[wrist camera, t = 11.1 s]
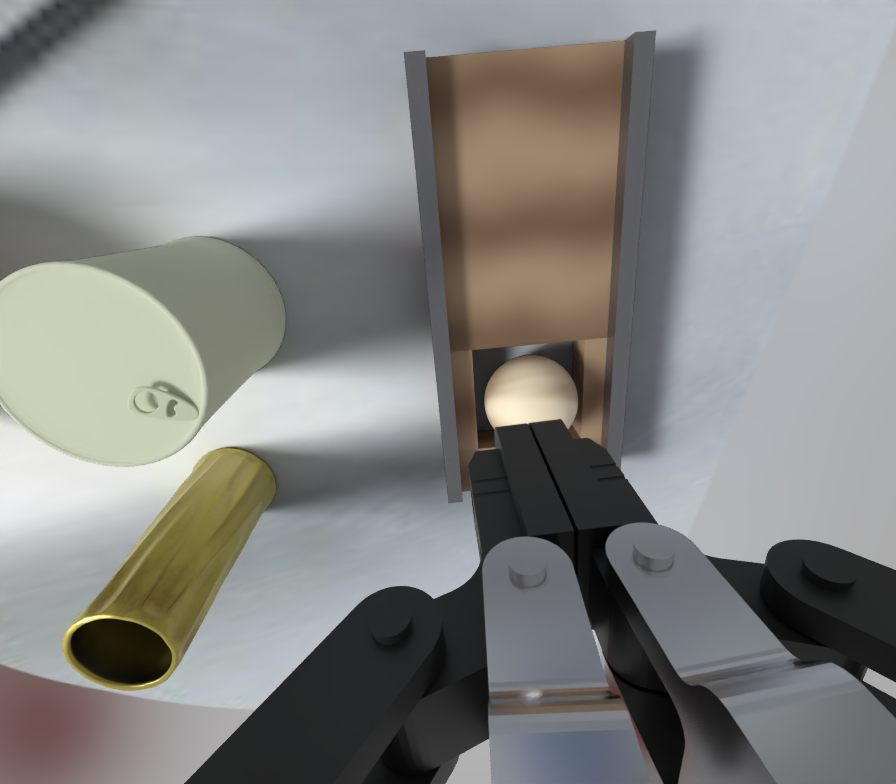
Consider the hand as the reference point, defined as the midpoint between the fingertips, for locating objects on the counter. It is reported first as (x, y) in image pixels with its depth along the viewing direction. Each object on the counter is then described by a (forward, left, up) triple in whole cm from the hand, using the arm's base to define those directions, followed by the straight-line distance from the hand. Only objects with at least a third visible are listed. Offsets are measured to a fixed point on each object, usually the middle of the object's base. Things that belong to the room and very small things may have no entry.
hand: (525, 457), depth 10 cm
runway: (+1, +4, -21) cm, 21 cm away
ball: (+7, +4, -18) cm, 19 cm away
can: (0, -16, -21) cm, 27 cm away
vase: (+13, -18, -21) cm, 31 cm away
